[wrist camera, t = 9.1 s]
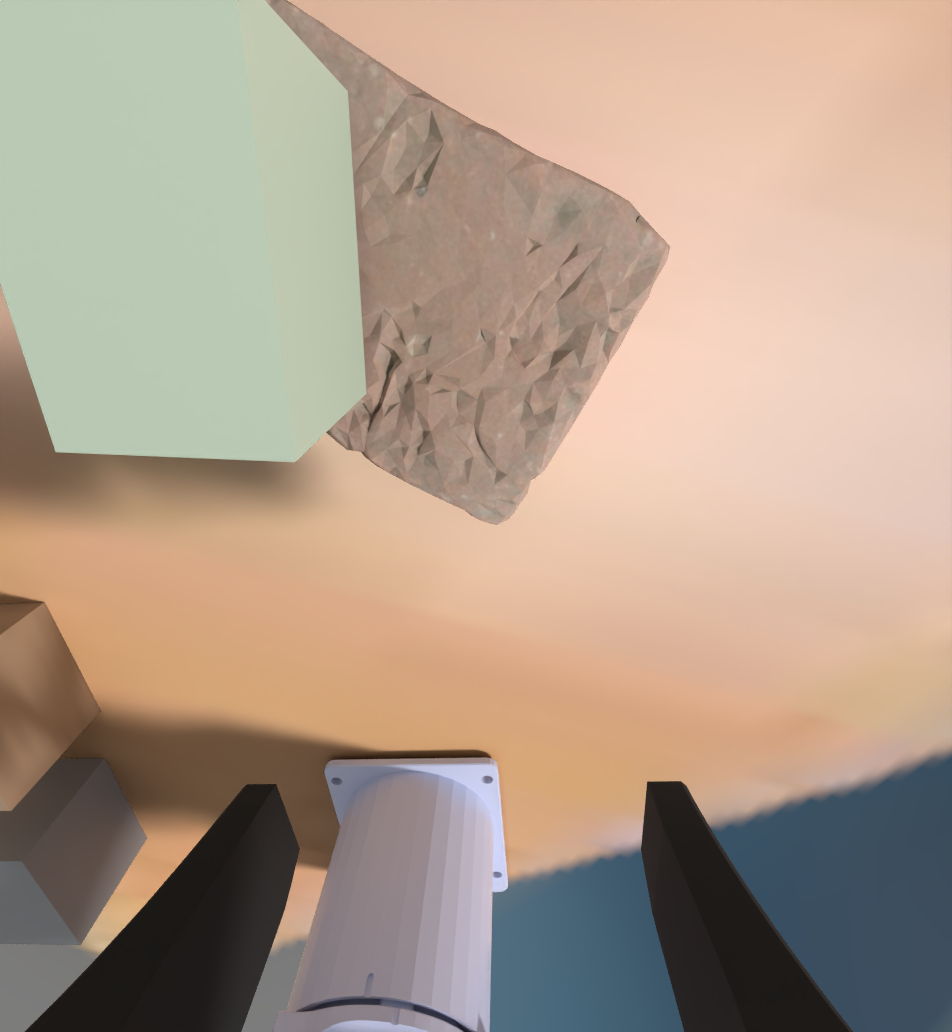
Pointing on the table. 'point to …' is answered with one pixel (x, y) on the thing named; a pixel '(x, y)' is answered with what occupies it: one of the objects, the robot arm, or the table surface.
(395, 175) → the brick
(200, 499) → the table surface
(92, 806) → the grey block
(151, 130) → the green block
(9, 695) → the walnut block
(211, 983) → the robot arm
